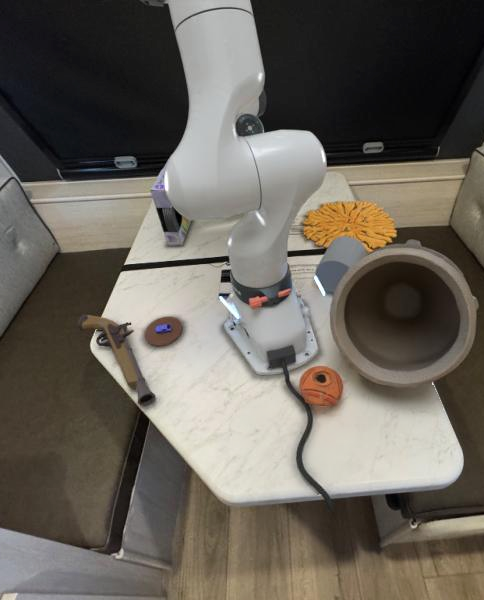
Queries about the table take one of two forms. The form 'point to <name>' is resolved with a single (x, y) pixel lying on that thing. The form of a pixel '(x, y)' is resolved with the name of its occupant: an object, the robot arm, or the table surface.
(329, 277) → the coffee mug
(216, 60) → the robot arm
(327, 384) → the pot
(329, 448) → the table surface
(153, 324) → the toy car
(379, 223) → the coral
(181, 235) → the cake pan box
